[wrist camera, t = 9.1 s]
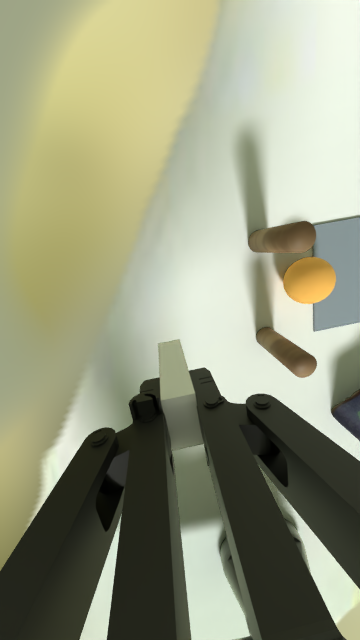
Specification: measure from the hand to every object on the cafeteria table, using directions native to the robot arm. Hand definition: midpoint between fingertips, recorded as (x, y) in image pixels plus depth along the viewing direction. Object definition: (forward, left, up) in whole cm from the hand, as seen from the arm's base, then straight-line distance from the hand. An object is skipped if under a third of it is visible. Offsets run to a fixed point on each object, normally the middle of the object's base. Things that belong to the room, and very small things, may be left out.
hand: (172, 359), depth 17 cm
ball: (+1, -18, -12) cm, 21 cm away
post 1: (+6, -13, -14) cm, 20 cm away
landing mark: (0, -27, -14) cm, 31 cm away
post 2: (-6, -13, -14) cm, 20 cm away
